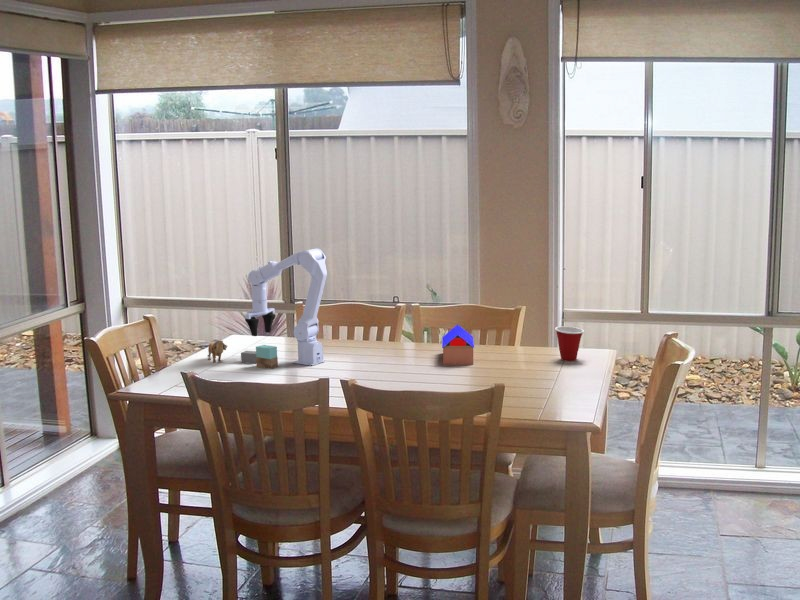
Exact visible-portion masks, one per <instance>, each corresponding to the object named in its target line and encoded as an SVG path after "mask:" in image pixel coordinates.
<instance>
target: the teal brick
mask: <svg viewBox="0 0 800 600" xmlns="http://www.w3.org/2000/svg"><path fill="white" fill-rule="evenodd" d="M277 348H278V346H276V345H267V344H261V345H257V346H255V351H256V357H260V358H266V359H272V358H275V357H277V358H278V349H277Z"/></svg>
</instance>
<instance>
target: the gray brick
mask: <svg viewBox="0 0 800 600" xmlns="http://www.w3.org/2000/svg"><path fill="white" fill-rule="evenodd" d="M240 359H241V361H240V362H241V363H244V364H256V350H244V351H242V352H240ZM256 365H257V364H256Z"/></svg>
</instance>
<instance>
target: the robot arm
mask: <svg viewBox="0 0 800 600" xmlns="http://www.w3.org/2000/svg"><path fill="white" fill-rule="evenodd" d="M326 259H327V257H326V255H325V254H324V251H322V249H320V248H318V247H315V248H312V249H311V248H310V249H307V250H302V251H300V252H296V253H293V254H291V255H289V256H288V257H286V258H285V259H282V260H280V261H279V262H278V261H272V260H271V261H268V262H267V264H265V265H263V266H259V267H258V269H252V270H251V271H250V272H249V273H248V275H247V280H248V282H249V283H250V284H251V285H250V286H251V302H252V303H251V304H252V310H251V311H249V312H248V313H245V322H246V324H247V326H248V328H249V330H250V333H251V336H252V337H257V336H258V324H259V320H260V319H258V317H262V319H263V323H264V331H265V333H267V334H268V333H271V331H272V327H273V326H272V325H273V323H274V320H275V318H276V311H275V310H276V309H275V308H273V307H269V308H268V293H267V286H268V285H267V283H268V281H270V280H272V279H274V278H276V277H279V276H280V275H281V274H282V272H283V270H286V269H287V268H290V267H292V266H294V265H300V266H301V267H302V268H303V269H305V271H306V272H308V274H309V275H310V276H311V280H310V284H309V287H308V291H307V295H306V300H305V304H304V309H303V310H302V311H303V312H302V315H301V316H300V318H299V319H298V321H297V324H296V325H295V327H294V328H293V337H294V338H295V339H296V343H297V360H294V361H293V364H298V365H306V366H311V365H312V366H316V365H318V364H322V363H325V361H326V360H324V346H323V343H322V342H321V341H318V340H317V335H318V334H319V331H320V328H319V327H320V326H319V318H318V314H319V313H318V312H319V309H320V306H321V300H322V297H323V292H324V288H325V285H326V280H327V276H328V271H327V266H326Z"/></svg>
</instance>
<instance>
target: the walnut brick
mask: <svg viewBox="0 0 800 600" xmlns="http://www.w3.org/2000/svg"><path fill="white" fill-rule="evenodd" d="M278 360H279V359H278V356H277V357H275V358H272V359H266V358H260V357H256V368H261V369H268V368H269V369H270V370H273V369H275V368H278V367H279V363H278V362H279V361H278Z"/></svg>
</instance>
